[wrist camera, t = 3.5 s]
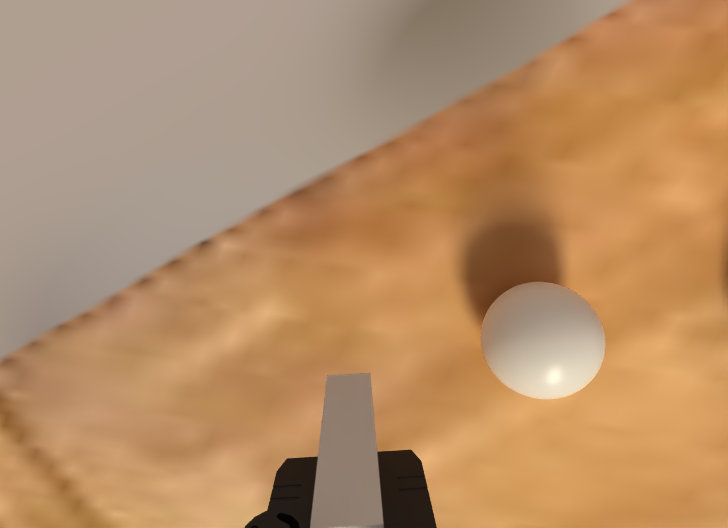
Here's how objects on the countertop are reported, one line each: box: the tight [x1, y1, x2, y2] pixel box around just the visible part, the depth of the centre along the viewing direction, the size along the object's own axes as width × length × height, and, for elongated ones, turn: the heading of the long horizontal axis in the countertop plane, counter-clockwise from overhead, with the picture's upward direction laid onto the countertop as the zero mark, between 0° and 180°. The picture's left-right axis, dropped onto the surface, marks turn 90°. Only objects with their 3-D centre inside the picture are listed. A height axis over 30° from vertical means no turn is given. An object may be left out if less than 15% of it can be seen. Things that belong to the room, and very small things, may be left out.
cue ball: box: [481, 282, 605, 399], centre depth 21 cm, size 6×6×6 cm
